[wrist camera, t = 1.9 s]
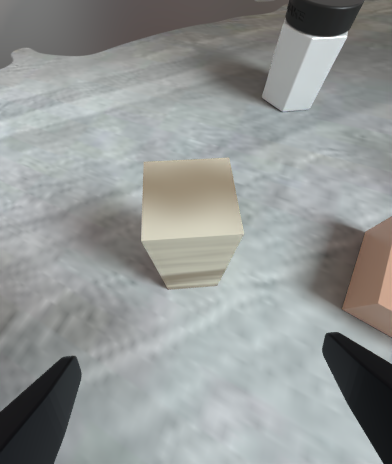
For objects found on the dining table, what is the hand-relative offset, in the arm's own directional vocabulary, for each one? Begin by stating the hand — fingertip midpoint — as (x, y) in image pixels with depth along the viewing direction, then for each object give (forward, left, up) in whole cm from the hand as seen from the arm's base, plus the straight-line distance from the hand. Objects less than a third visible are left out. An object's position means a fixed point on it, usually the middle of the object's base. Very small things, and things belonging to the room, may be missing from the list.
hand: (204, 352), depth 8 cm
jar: (+39, +6, -13) cm, 42 cm away
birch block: (+6, +4, -13) cm, 15 cm away
